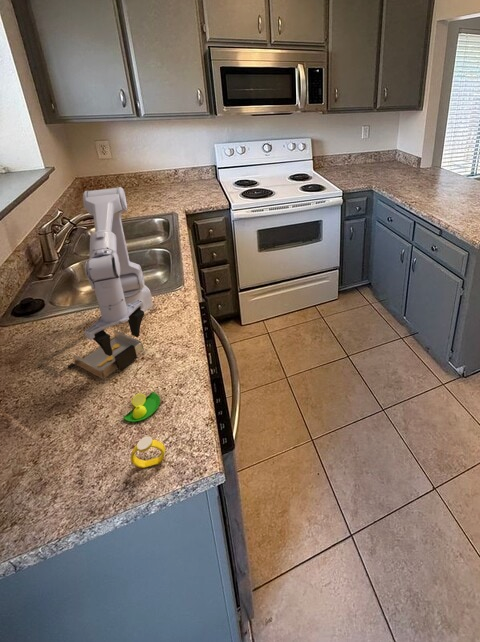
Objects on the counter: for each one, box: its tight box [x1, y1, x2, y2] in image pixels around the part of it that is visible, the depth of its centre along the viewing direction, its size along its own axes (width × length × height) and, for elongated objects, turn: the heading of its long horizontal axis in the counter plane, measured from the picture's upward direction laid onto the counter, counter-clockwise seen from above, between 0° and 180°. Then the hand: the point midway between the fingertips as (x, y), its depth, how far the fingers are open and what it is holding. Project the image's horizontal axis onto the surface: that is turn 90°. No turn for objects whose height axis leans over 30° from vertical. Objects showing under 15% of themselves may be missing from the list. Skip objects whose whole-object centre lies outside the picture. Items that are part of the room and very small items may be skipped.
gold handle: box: [67, 362, 76, 369], centre depth 101 cm, size 1×15×1 cm, turn 154°
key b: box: [97, 356, 113, 367], centre depth 97 cm, size 4×2×1 cm, turn 153°
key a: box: [112, 344, 120, 350], centre depth 101 cm, size 4×2×1 cm, turn 153°
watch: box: [130, 435, 166, 469], centre depth 71 cm, size 6×3×6 cm, turn 103°
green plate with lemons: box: [123, 392, 161, 422], centre depth 83 cm, size 8×8×3 cm
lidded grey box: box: [72, 329, 144, 380], centre depth 98 cm, size 14×12×5 cm
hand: (122, 344), depth 93 cm, fingers open, 7 cm apart
